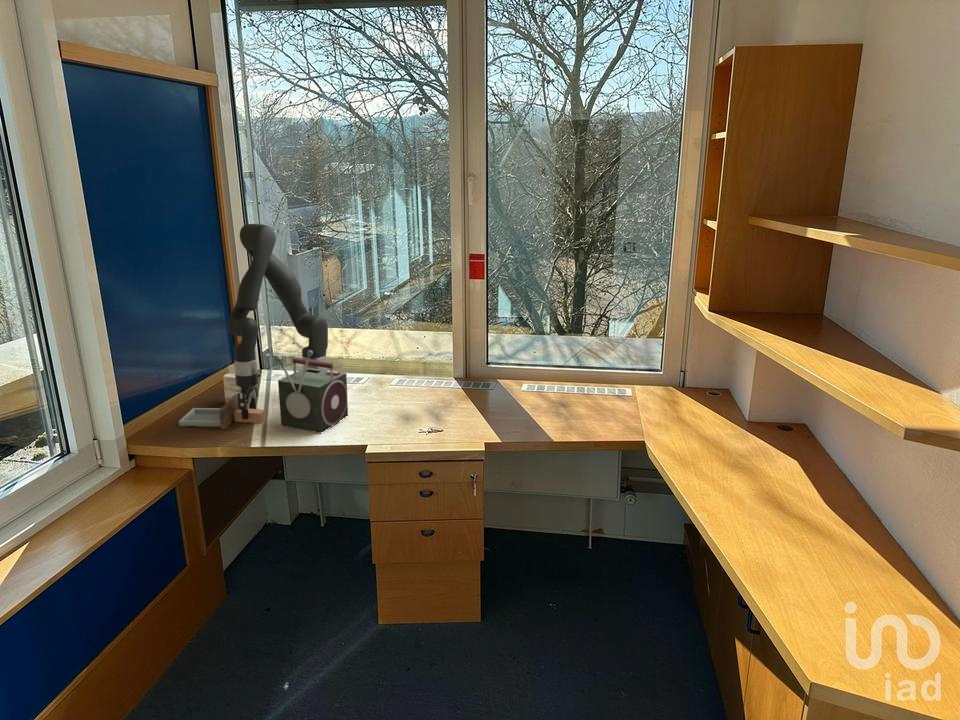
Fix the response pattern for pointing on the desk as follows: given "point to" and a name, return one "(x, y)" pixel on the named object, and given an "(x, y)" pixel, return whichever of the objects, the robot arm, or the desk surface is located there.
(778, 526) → the desk surface
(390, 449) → the desk surface
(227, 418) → the board
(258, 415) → the bar
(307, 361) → the boombox
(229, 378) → the ink cartridge box
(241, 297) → the robot arm
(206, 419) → the tray
